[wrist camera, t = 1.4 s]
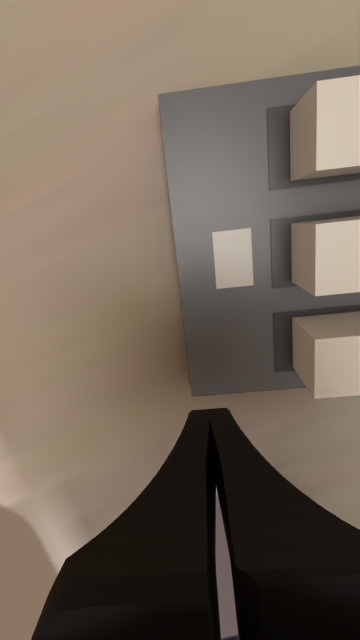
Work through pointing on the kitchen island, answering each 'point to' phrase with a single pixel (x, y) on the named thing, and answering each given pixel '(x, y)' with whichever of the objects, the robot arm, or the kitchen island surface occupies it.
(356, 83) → the cream squarish block
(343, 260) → the tab
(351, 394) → the beige block
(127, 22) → the kitchen island surface
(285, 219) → the switch bank
